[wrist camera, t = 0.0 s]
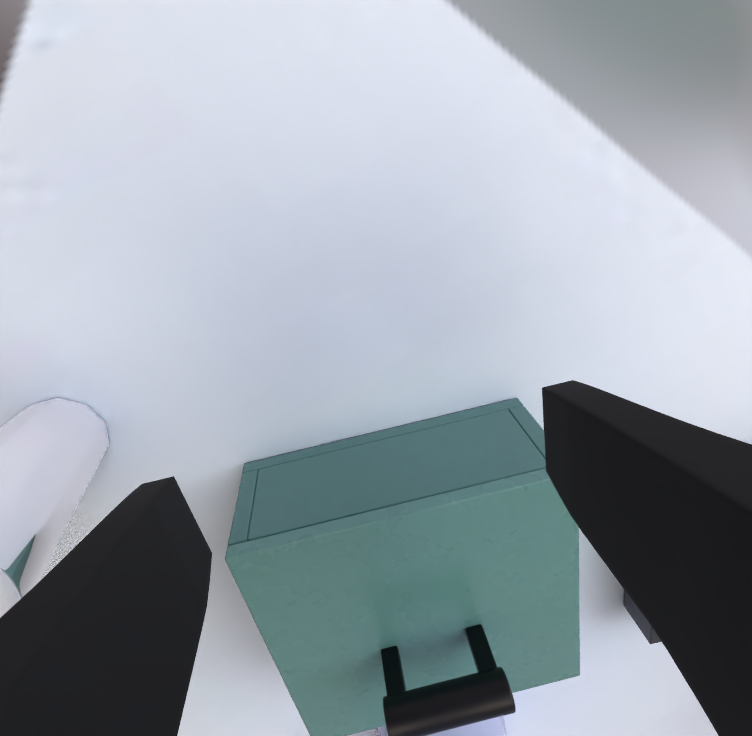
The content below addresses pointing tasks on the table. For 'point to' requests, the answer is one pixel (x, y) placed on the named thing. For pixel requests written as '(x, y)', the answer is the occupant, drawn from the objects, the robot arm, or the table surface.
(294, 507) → the teal hollow box
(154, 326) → the table surface
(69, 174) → the table surface
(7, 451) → the milkshake
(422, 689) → the lid
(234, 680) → the table surface
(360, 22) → the table surface
